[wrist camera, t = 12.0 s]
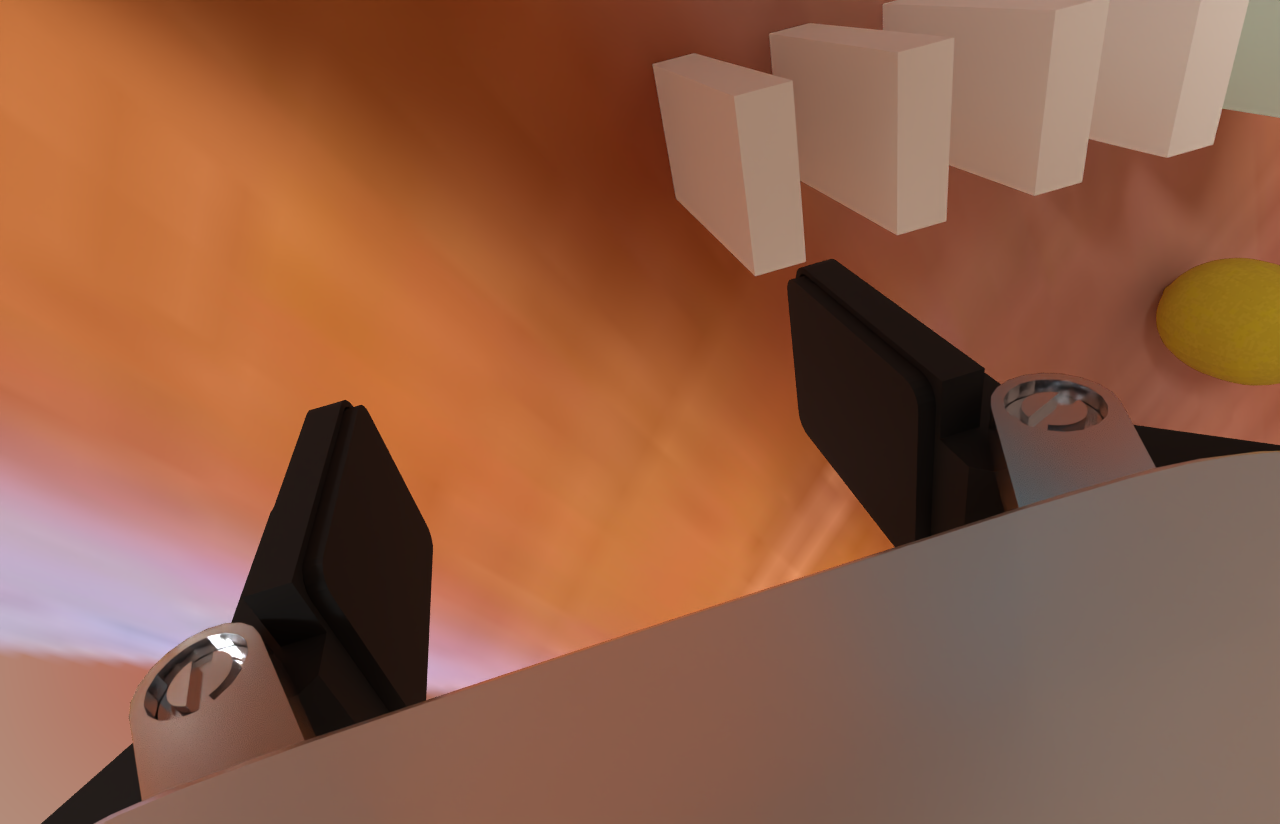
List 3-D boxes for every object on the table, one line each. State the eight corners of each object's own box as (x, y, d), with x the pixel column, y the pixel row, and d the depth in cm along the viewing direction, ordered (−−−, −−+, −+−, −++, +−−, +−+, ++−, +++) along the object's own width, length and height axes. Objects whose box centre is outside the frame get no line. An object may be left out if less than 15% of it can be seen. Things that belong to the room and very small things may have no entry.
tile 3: (883, 141, 29) (1034, 196, 21) (882, 3, 26) (1055, 10, 18) (919, 131, 29) (1081, 182, 21) (922, -7, 26) (1110, -5, 18)
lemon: (1098, 328, 36) (1241, 404, 30) (1164, 226, 34) (1336, 284, 27) (1169, 346, 38) (1319, 422, 32) (1237, 251, 36) (1415, 311, 29)
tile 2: (780, 169, 28) (897, 235, 21) (769, 33, 25) (897, 52, 18) (817, 159, 28) (946, 221, 21) (809, 23, 26) (954, 37, 18)
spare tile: (1081, 86, 29) (1295, 120, 22) (1101, -54, 26) (1353, -70, 19) (1116, 76, 29) (1340, 107, 22) (1139, -64, 27) (1405, -84, 19)
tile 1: (675, 198, 28) (754, 276, 20) (652, 63, 25) (733, 96, 18) (713, 188, 28) (805, 261, 21) (694, 53, 25) (793, 80, 18)
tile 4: (983, 113, 29) (1166, 158, 21) (993, -25, 26) (1207, -30, 19) (1018, 104, 29) (1213, 144, 22) (1031, -36, 26) (1260, -44, 19)
